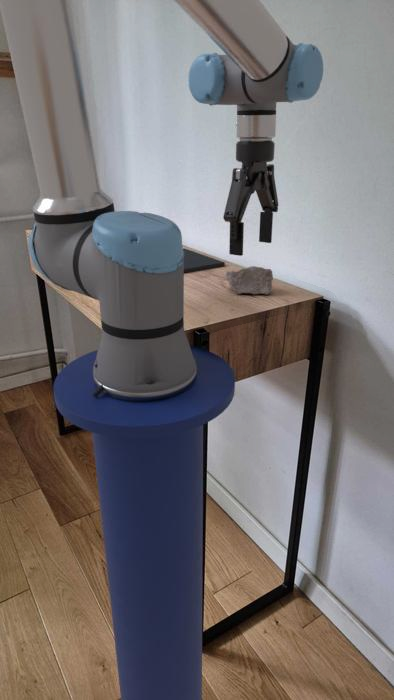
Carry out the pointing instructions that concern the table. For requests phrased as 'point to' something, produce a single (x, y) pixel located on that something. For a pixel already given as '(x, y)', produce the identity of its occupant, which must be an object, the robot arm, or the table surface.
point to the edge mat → (199, 261)
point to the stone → (251, 280)
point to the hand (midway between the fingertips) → (251, 248)
